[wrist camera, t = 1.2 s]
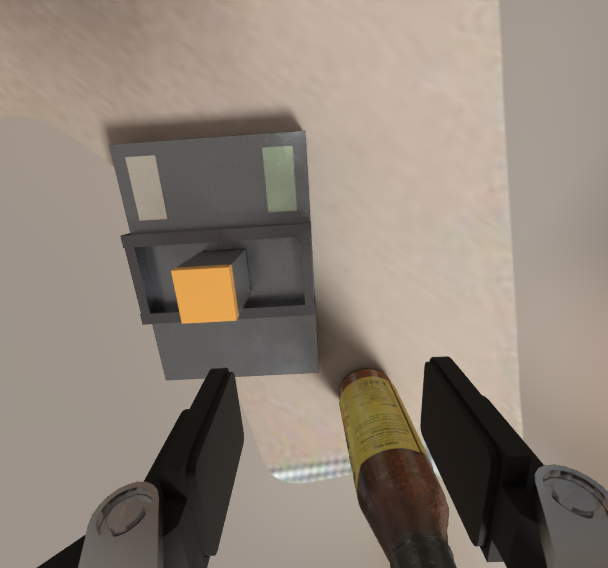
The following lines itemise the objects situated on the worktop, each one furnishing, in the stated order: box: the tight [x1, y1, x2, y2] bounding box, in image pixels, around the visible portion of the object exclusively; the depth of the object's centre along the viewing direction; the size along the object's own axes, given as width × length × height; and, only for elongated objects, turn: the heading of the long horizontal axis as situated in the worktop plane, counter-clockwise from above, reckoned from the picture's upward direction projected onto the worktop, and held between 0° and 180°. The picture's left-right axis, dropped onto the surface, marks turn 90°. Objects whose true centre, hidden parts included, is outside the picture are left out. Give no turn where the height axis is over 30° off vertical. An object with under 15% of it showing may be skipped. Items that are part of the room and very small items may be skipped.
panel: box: [109, 131, 319, 380], centre depth 28 cm, size 22×16×4 cm
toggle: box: [171, 249, 251, 324], centre depth 24 cm, size 4×4×6 cm
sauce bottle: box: [339, 369, 457, 568], centre depth 24 cm, size 7×6×20 cm
